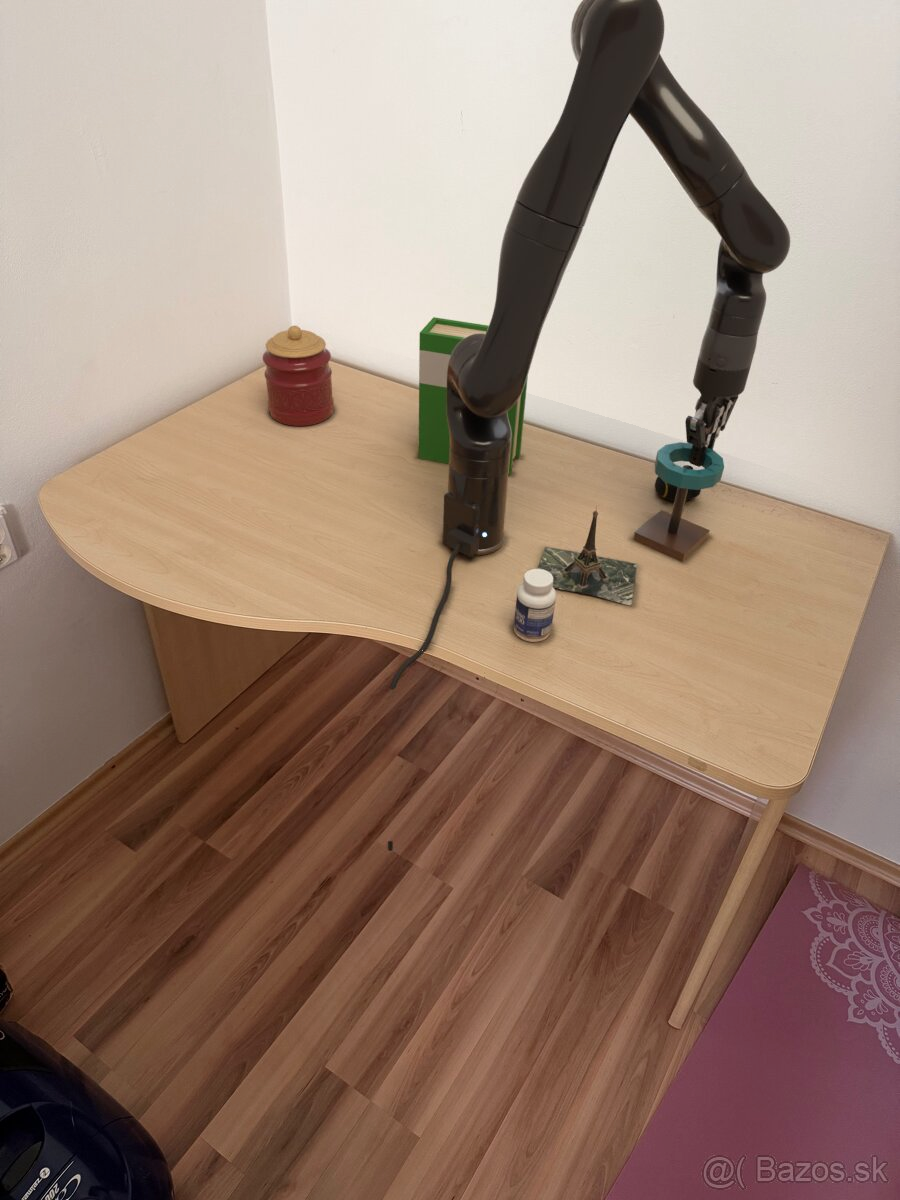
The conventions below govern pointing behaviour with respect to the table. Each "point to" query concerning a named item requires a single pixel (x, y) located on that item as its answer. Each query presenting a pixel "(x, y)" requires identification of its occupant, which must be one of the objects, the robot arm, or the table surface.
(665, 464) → the ring
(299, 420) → the kitchen canister
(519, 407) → the hardback book
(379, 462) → the table surface
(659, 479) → the tape measure
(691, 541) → the stand
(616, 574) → the eiffel tower figurine
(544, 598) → the pill bottle
